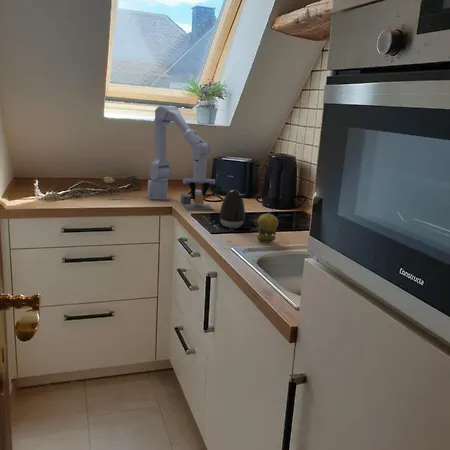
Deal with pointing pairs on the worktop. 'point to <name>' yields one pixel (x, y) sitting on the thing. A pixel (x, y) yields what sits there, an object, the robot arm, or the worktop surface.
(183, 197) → the charcoal brick
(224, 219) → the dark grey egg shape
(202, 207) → the slate mat
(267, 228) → the hamburger
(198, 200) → the terracotta brick
